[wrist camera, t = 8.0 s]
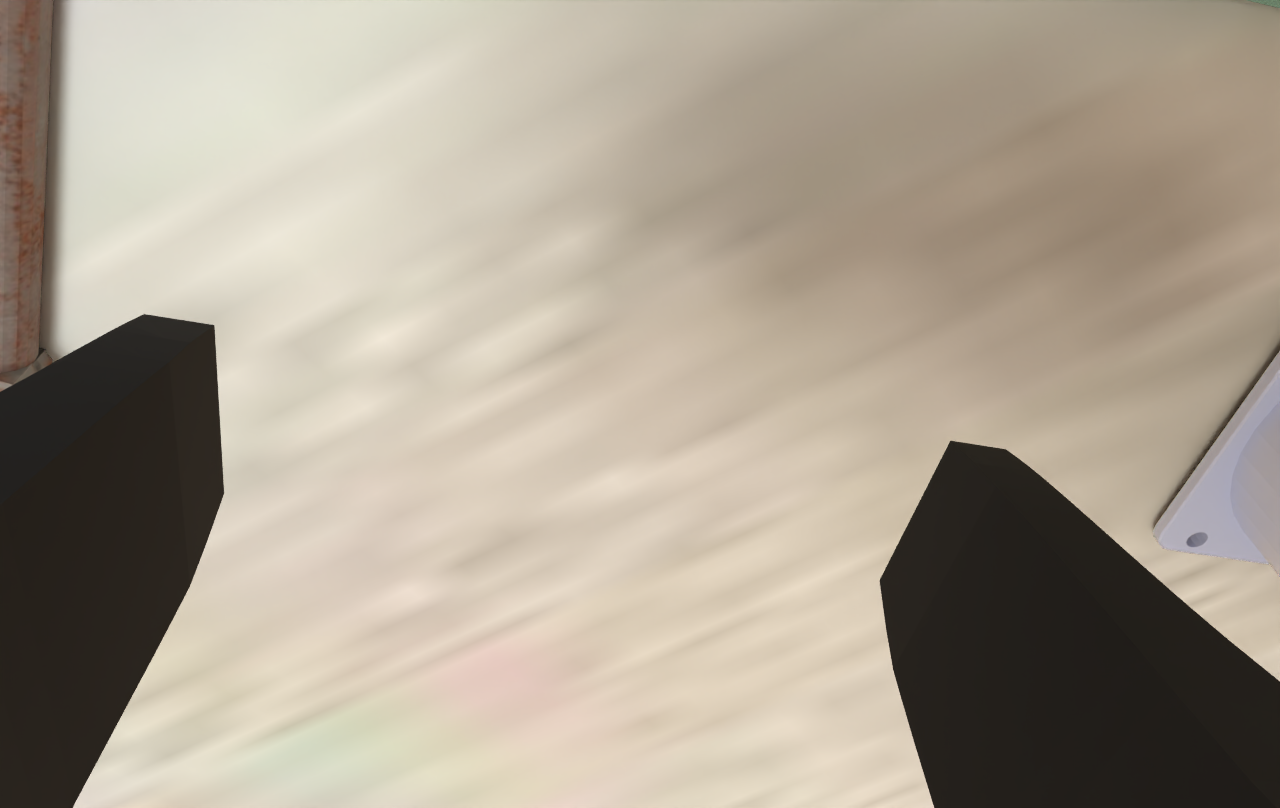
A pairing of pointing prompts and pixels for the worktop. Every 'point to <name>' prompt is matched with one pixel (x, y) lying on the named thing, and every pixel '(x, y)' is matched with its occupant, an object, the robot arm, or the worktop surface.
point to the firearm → (22, 181)
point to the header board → (1268, 2)
